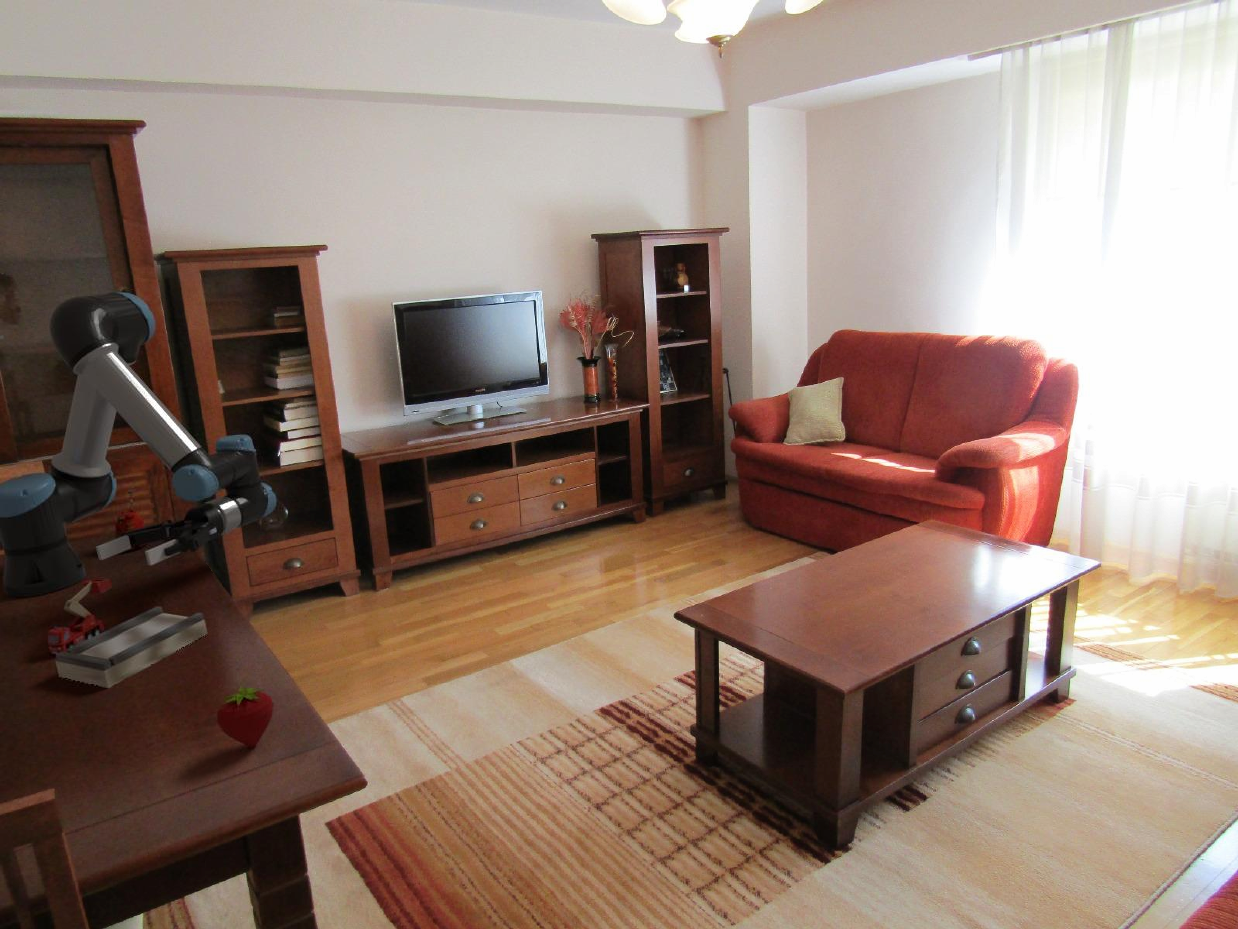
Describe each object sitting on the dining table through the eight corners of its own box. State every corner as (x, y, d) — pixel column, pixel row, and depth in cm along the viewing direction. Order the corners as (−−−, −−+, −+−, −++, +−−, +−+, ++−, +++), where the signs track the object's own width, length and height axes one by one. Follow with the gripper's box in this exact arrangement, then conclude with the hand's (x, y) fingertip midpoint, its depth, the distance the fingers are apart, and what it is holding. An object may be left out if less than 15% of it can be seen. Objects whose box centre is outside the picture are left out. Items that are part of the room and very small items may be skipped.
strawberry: (217, 748, 123) (204, 684, 120) (271, 727, 128) (259, 665, 125) (231, 766, 119) (218, 700, 116) (286, 743, 123) (274, 679, 121)
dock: (160, 626, 165) (156, 606, 164) (207, 634, 160) (203, 613, 159) (59, 677, 147) (53, 655, 146) (108, 688, 142) (103, 665, 141)
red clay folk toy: (113, 548, 211) (99, 489, 207) (143, 540, 216) (130, 481, 212) (125, 554, 206) (112, 494, 202) (156, 545, 211) (143, 486, 207)
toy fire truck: (47, 656, 156) (35, 606, 153) (105, 622, 168) (94, 575, 166) (63, 657, 155) (51, 606, 152) (120, 623, 168) (109, 576, 165)
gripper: (259, 539, 181) (173, 579, 163) (173, 532, 191) (83, 569, 173) (252, 505, 179) (165, 541, 161) (166, 500, 189) (74, 533, 171)
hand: (122, 556), depth 167 cm, fingers open, 13 cm apart
